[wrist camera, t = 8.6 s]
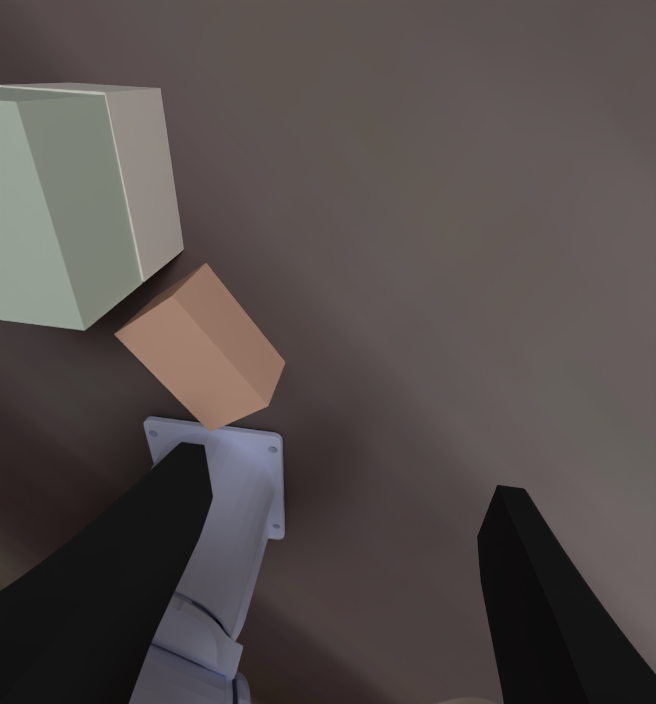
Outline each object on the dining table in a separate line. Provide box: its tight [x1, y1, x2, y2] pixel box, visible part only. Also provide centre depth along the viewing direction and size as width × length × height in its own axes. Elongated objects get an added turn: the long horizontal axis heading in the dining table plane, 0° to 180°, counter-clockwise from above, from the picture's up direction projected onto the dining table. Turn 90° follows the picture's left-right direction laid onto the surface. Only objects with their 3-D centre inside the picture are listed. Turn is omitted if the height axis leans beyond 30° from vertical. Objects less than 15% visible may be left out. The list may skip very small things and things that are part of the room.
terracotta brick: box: [114, 263, 285, 432], centre depth 19 cm, size 6×4×4 cm, turn 33°
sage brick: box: [0, 87, 142, 331], centre depth 13 cm, size 6×4×4 cm, turn 177°
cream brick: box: [0, 83, 184, 282], centre depth 16 cm, size 6×4×4 cm, turn 177°
